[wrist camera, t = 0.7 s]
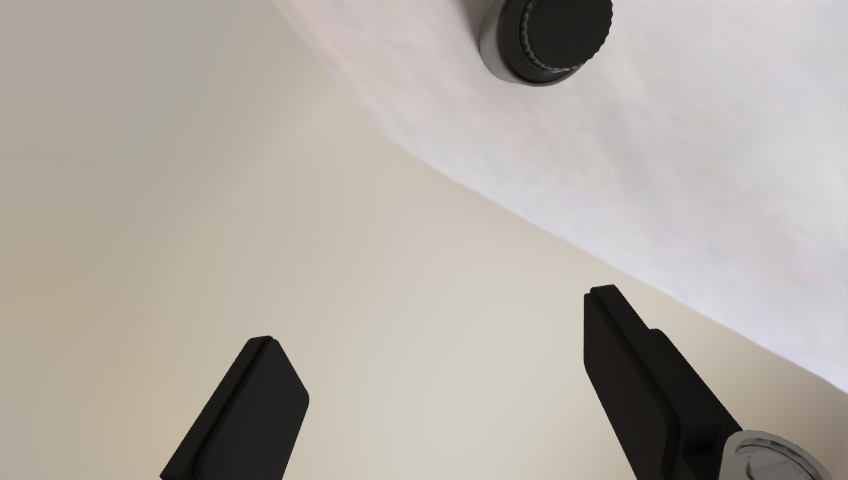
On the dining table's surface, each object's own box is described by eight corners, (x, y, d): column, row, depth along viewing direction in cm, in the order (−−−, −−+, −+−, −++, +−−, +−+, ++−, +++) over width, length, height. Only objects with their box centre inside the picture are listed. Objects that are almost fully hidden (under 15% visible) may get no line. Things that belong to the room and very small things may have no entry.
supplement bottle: (547, 84, 31) (609, 96, 20) (473, 79, 31) (496, 88, 20) (567, -8, 28) (652, -50, 17) (484, -14, 28) (518, -61, 17)
